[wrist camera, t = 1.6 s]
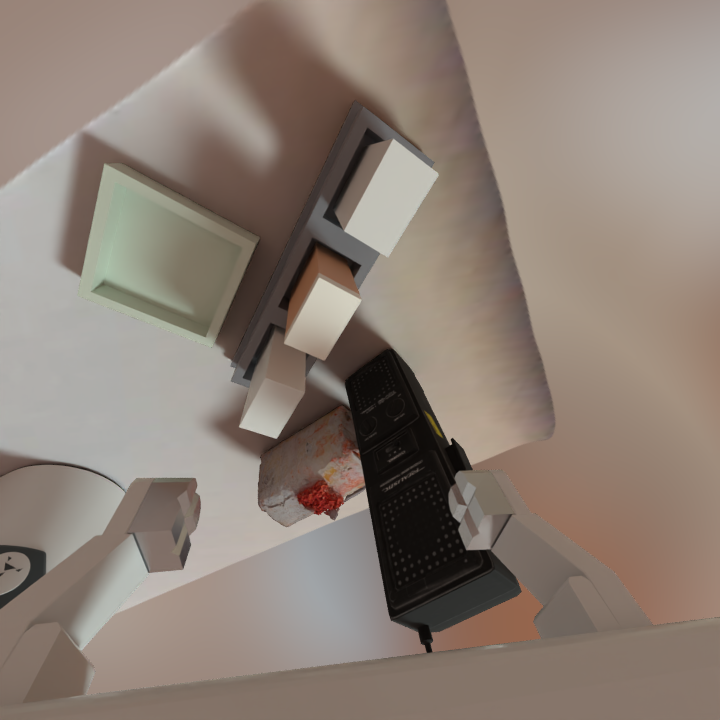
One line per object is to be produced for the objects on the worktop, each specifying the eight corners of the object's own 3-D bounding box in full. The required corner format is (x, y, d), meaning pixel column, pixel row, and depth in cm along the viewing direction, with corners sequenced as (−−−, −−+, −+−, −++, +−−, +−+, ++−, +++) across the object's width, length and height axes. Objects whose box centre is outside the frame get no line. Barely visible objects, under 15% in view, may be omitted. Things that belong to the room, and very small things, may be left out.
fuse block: (294, 384, 36) (289, 462, 27) (232, 361, 34) (202, 437, 24) (426, 159, 26) (490, 159, 17) (353, 102, 24) (382, 64, 15)
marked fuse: (320, 305, 31) (324, 360, 22) (290, 291, 30) (283, 343, 21) (346, 259, 29) (361, 300, 20) (316, 241, 28) (319, 277, 19)
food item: (344, 392, 38) (354, 458, 30) (379, 431, 42) (397, 498, 34) (255, 448, 41) (241, 522, 32) (296, 479, 45) (294, 552, 36)
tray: (218, 335, 32) (211, 347, 30) (94, 285, 28) (77, 295, 26) (260, 237, 28) (256, 243, 26) (122, 163, 24) (104, 163, 22)
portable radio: (396, 337, 35) (530, 609, 14) (425, 371, 38) (572, 639, 17) (340, 379, 37) (383, 675, 16) (372, 408, 40) (444, 691, 18)
